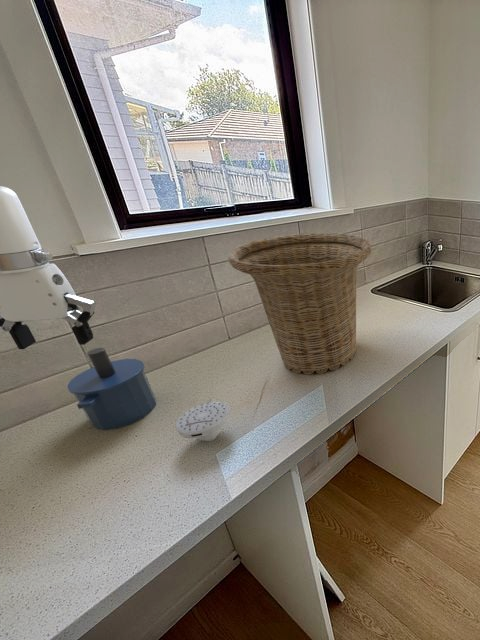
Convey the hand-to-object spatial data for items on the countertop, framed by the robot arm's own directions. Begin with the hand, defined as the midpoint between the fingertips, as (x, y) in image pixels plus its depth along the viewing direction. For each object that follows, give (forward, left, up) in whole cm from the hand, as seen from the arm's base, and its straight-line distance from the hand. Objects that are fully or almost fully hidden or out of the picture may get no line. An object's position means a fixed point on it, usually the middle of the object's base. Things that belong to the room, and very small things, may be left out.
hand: (58, 343), depth 67 cm
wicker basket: (+47, +18, -21) cm, 55 cm away
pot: (+4, +2, -20) cm, 21 cm away
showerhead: (+26, -11, -21) cm, 35 cm away
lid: (+4, +2, -10) cm, 11 cm away
